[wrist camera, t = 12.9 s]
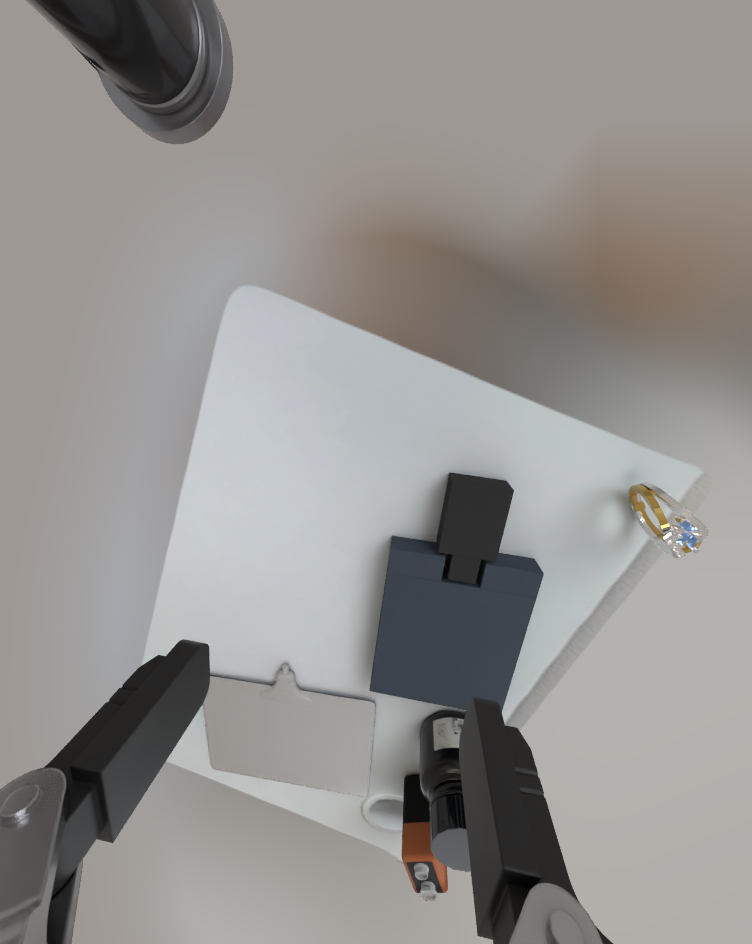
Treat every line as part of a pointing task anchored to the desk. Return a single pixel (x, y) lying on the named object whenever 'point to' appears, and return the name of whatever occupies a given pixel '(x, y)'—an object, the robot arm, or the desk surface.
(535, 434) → the desk surface
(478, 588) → the pad mat
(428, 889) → the battery
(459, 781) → the ink bottle
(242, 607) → the desk surface
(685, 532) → the ring
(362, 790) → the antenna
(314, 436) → the desk surface
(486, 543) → the pad tile
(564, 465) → the desk surface
